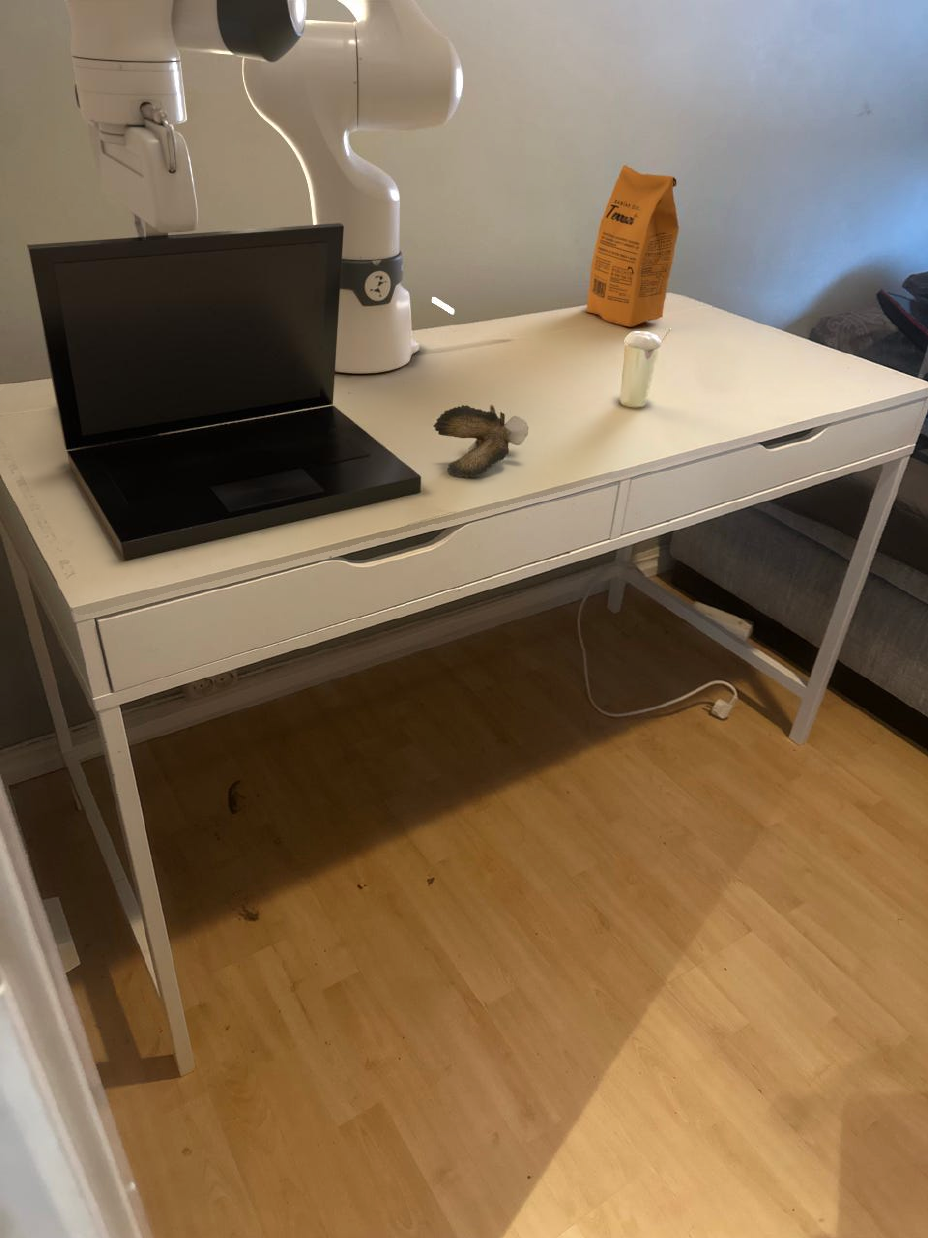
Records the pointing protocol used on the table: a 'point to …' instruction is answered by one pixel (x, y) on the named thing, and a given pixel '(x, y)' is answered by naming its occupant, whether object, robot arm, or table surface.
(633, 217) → the coffee package
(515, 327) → the table surface
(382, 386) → the table surface
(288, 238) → the laptop screen
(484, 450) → the eagle figurine
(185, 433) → the laptop
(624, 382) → the milkshake
